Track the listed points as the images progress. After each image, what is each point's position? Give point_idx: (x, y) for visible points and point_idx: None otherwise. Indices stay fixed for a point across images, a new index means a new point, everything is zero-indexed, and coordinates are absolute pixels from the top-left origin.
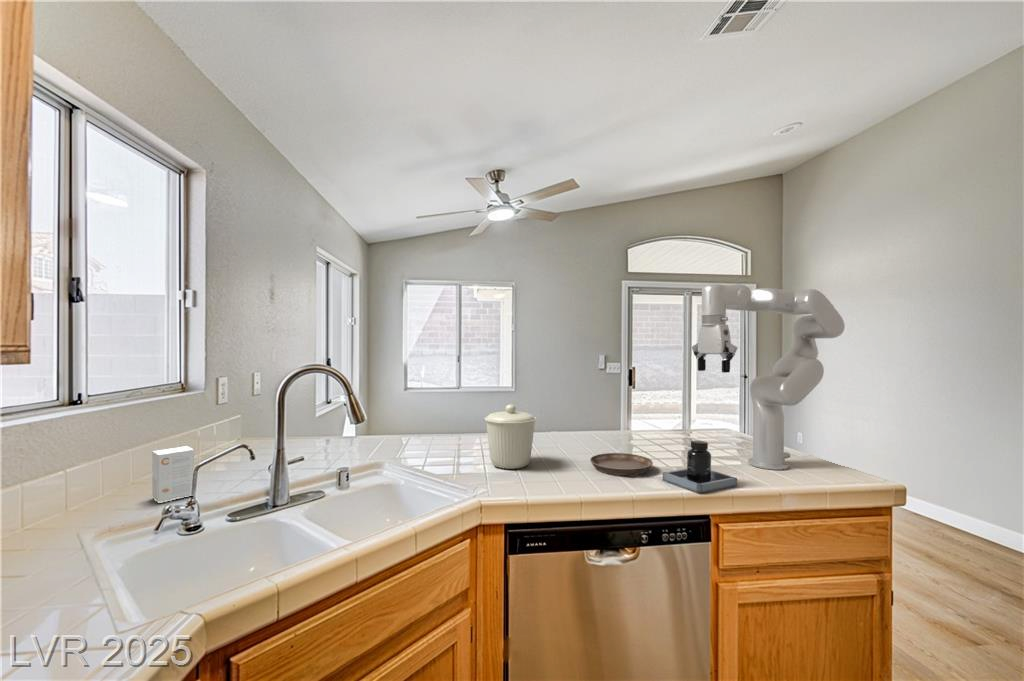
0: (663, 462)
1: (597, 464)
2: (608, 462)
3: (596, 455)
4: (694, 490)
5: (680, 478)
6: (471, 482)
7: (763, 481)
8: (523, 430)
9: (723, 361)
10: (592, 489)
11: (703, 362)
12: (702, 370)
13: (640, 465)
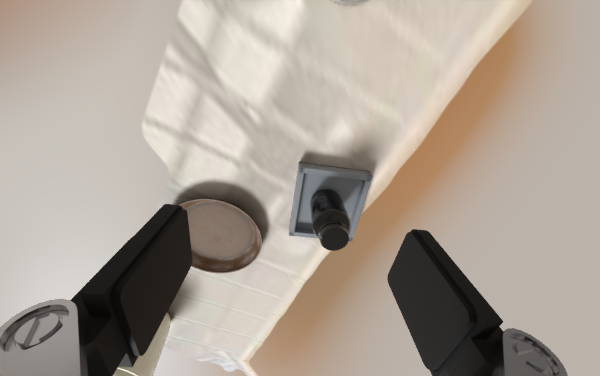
0: (215, 149)
1: None
2: None
3: None
4: None
5: None
6: (197, 352)
7: (389, 108)
8: (151, 369)
9: (443, 366)
10: (269, 298)
11: (151, 287)
12: (185, 231)
13: (221, 205)
